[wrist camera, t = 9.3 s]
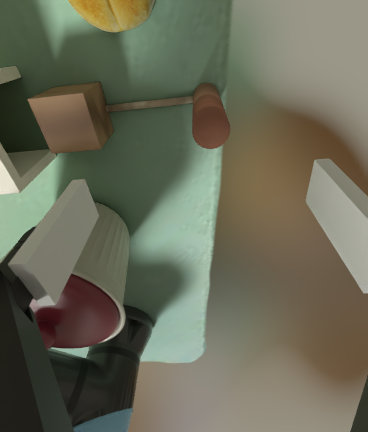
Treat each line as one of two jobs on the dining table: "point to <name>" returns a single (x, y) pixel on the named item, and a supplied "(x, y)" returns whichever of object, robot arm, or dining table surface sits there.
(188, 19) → the dining table surface
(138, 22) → the bread roll
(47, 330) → the canister
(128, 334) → the robot arm
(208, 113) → the block with cord
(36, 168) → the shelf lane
